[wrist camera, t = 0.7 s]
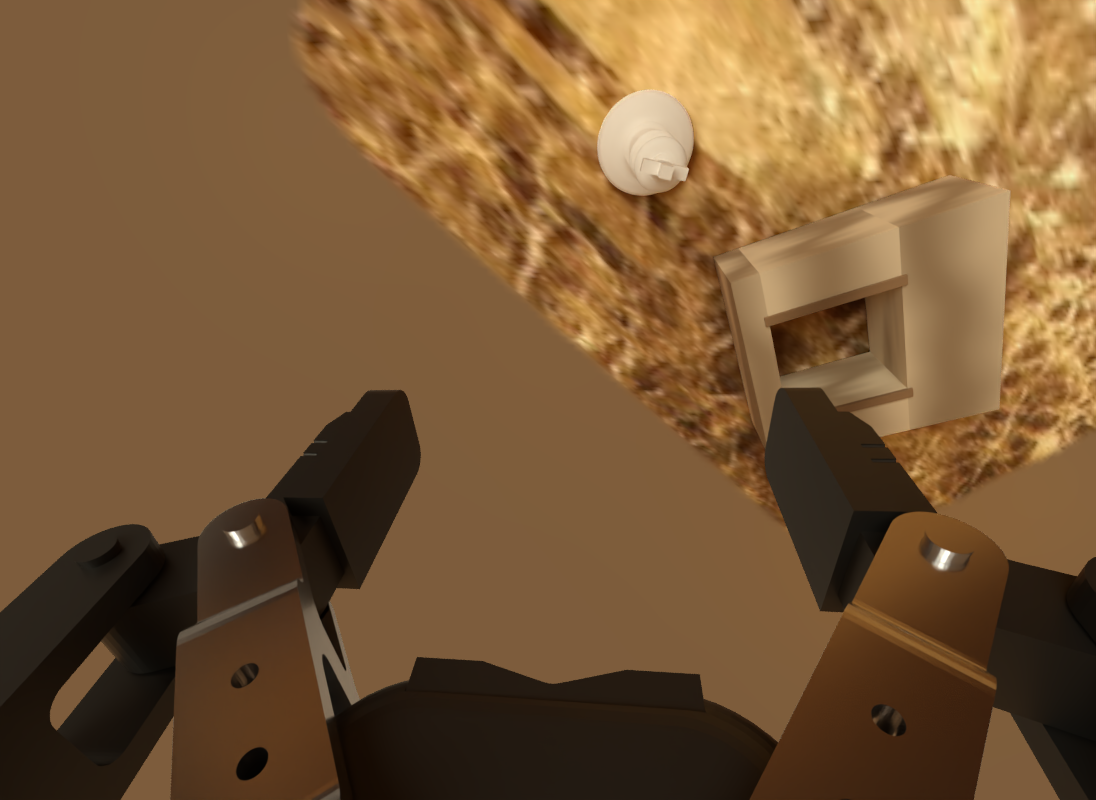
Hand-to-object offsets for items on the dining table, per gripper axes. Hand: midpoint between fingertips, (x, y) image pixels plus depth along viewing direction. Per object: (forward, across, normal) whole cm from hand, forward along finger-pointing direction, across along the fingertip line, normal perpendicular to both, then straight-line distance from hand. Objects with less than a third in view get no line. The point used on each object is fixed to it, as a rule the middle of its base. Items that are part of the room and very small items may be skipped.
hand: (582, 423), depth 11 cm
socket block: (+21, -14, +6) cm, 26 cm away
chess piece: (+21, -2, -4) cm, 21 cm away
